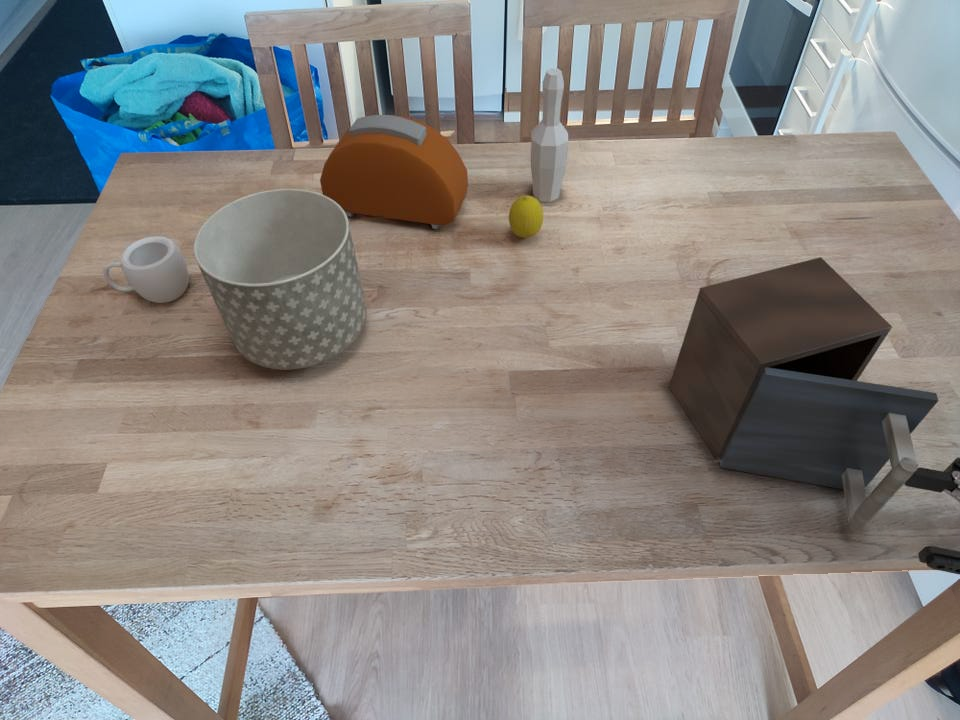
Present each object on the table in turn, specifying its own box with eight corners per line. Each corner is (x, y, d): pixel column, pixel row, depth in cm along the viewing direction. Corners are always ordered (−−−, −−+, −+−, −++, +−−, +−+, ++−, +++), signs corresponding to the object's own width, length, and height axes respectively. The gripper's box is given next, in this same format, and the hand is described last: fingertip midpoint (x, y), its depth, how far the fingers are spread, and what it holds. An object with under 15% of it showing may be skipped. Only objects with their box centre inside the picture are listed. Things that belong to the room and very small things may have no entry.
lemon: (514, 224, 111) (515, 183, 105) (545, 230, 110) (548, 189, 104) (504, 243, 108) (504, 203, 102) (536, 250, 106) (539, 210, 100)
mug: (199, 270, 105) (181, 230, 99) (191, 307, 99) (171, 267, 93) (122, 277, 104) (99, 238, 98) (109, 315, 99) (84, 276, 93)
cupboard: (827, 425, 83) (892, 326, 70) (716, 459, 80) (761, 364, 67) (772, 357, 91) (821, 256, 77) (668, 386, 88) (700, 287, 74)
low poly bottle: (523, 187, 118) (527, 65, 101) (556, 181, 119) (566, 59, 102) (534, 207, 114) (541, 84, 97) (569, 201, 115) (581, 78, 98)
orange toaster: (470, 203, 115) (466, 114, 102) (456, 235, 109) (451, 144, 97) (345, 186, 119) (327, 98, 107) (325, 215, 114) (304, 126, 101)
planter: (221, 384, 89) (172, 285, 76) (254, 288, 102) (216, 188, 88) (361, 383, 89) (336, 284, 75) (376, 287, 101) (358, 187, 88)
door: (870, 546, 72) (955, 459, 59) (720, 518, 75) (769, 428, 62) (860, 485, 77) (936, 392, 64) (720, 460, 80) (765, 366, 67)
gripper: (1099, 465, 64) (919, 434, 67) (1160, 607, 55) (949, 565, 58) (1050, 503, 70) (886, 473, 73) (1098, 637, 61) (908, 597, 64)
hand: (914, 513), depth 65 cm, fingers open, 8 cm apart
